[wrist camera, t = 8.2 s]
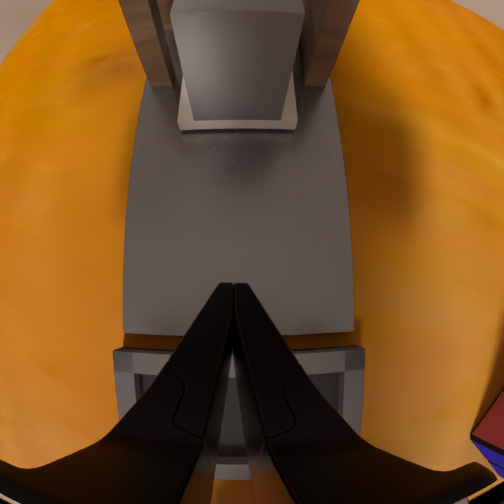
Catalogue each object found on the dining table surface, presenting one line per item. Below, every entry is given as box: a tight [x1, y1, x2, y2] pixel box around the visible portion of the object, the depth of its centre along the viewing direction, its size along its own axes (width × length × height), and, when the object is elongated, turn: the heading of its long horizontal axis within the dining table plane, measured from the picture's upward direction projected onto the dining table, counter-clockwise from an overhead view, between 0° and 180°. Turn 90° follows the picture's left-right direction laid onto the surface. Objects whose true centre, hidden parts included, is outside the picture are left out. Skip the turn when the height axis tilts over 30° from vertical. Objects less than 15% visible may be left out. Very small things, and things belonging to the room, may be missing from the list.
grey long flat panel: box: [123, 29, 354, 336], centre depth 19 cm, size 33×13×1 cm, turn 1°
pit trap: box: [113, 345, 365, 480], centre depth 16 cm, size 8×14×2 cm, turn 91°
